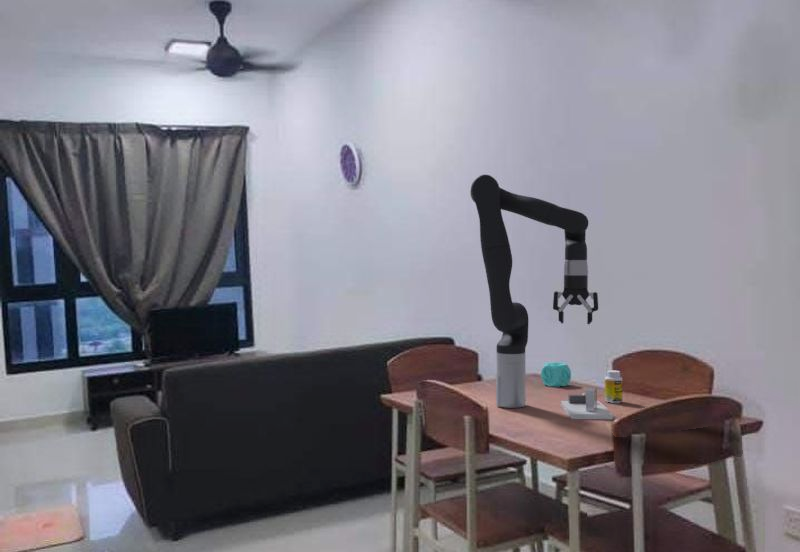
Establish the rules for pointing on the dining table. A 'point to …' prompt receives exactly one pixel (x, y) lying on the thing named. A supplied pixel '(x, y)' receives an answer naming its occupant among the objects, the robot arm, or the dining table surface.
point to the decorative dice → (556, 374)
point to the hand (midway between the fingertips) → (575, 323)
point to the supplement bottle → (613, 387)
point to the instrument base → (584, 408)
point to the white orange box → (591, 398)
